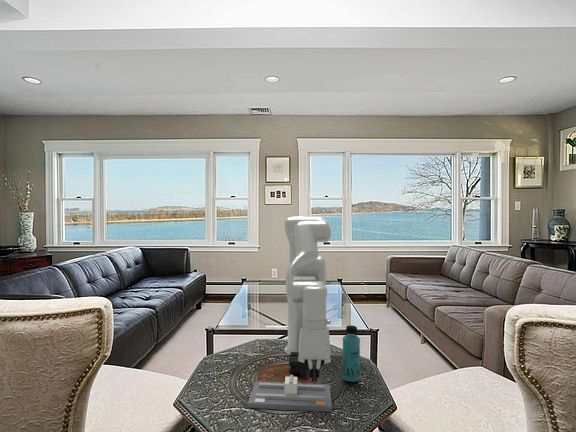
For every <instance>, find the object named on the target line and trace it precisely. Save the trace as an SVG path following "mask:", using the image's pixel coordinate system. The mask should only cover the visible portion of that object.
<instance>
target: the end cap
mask: <svg viewBox="0 0 576 432" xmlns="http://www.w3.org/2000/svg"><path fill="white" fill-rule="evenodd" d="M289 356H290V357H289V360H288V366H289V367H290V368H289V369H288V377H290V375H293V377H301V378H302V377H305V375H306V374H308V371H309V367H308V366H307V365H306V364H305V363H303V362H299V361H298V357H299V352H291V353H290V355H289ZM295 356H296V357H295Z"/></svg>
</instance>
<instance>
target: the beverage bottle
mask: <svg viewBox="0 0 576 432" xmlns="http://www.w3.org/2000/svg"><path fill="white" fill-rule="evenodd" d="M345 333H347V334H346V335H344V336H343V337H342V358H341V359H342V362H341V364H342V365H341V376H342V379H343V380H344V381H348V382H357V381H359V379H360V375H361V374H360V373H361V365H360V359H361V358H360V357H361V355H360V354H361V348H360V347H361V344H360V343H361V339H360V337H359V336H358V335H356V334H358V327H357V326H356V325H346V327H345Z"/></svg>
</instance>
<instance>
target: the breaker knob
mask: <svg viewBox="0 0 576 432" xmlns="http://www.w3.org/2000/svg"><path fill="white" fill-rule="evenodd" d="M284 383H285V384H284V394H285V395H297V383H298V377H293V375H290V377H289V375H288V376H285V379H284Z"/></svg>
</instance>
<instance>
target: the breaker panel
mask: <svg viewBox="0 0 576 432" xmlns="http://www.w3.org/2000/svg"><path fill="white" fill-rule="evenodd" d="M284 384H285V382H281V381H280V382H279V381H278V382H277V381H275V382H274V381H255V382H254V384H253V388H252V390H251V393H250V396H249V399H248V401H247V408H248V409H269V410H270V409H271V410H287V411H288V410H289V411H291V410H292V411H306V412H307V411H312V412H331V413H332V412H333V403H332V402H333V401H332V396H331V395H332V394H331V386H330V385H331V384H326V383H323V384H322V383H302V382H301V383H300V382H297V395H285V394H284Z"/></svg>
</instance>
